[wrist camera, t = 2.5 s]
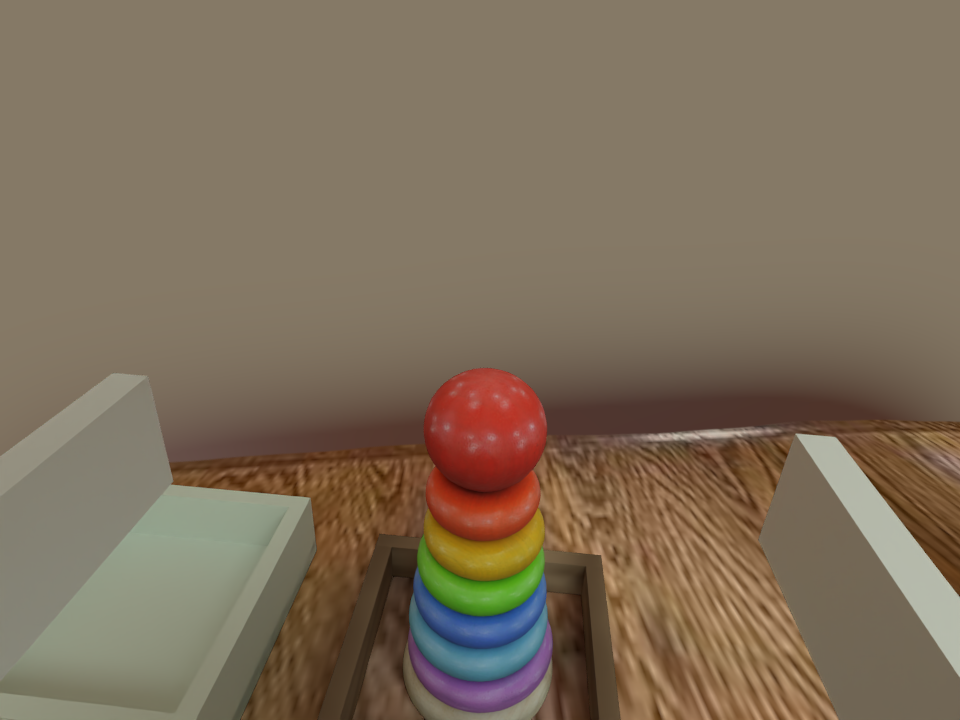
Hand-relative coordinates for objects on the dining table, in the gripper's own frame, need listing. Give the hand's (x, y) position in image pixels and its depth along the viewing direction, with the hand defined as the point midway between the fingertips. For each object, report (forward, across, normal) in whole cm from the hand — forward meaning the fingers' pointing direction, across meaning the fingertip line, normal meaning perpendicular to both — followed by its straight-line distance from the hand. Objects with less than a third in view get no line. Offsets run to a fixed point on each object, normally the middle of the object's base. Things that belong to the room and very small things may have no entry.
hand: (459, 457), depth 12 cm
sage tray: (+11, -19, -23) cm, 31 cm away
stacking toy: (+11, 0, -23) cm, 25 cm away
